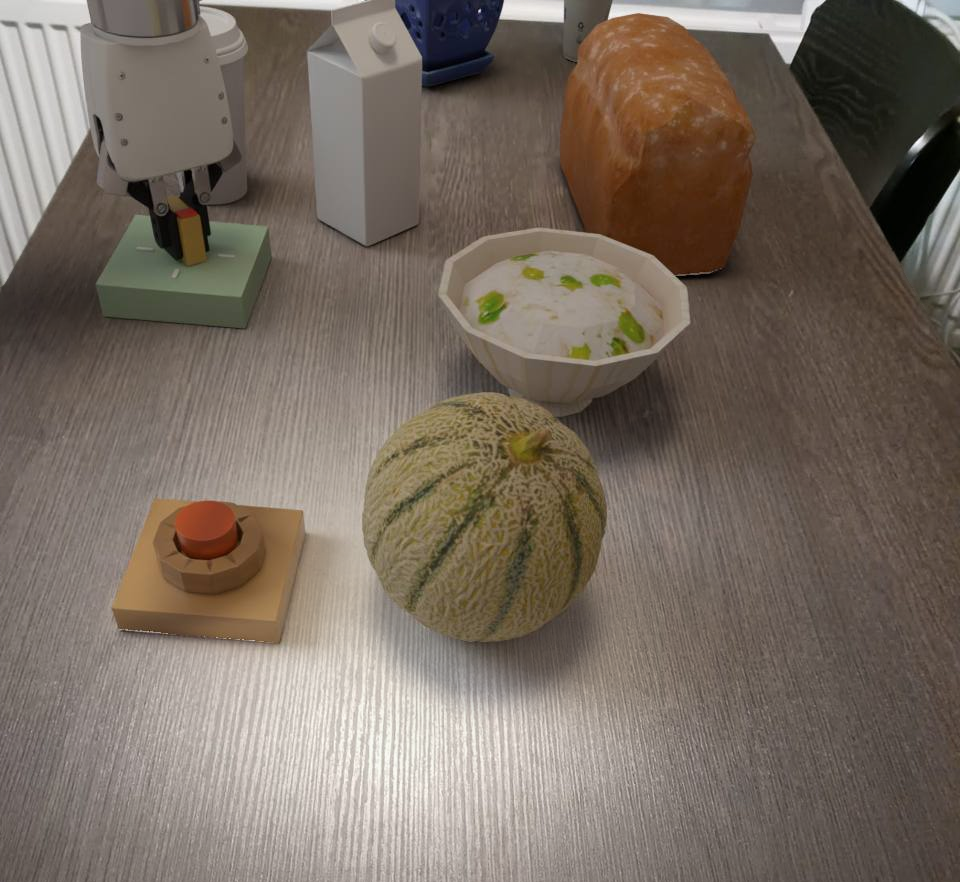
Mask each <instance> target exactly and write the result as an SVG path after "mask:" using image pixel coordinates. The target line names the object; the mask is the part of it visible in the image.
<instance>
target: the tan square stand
mask: <svg viewBox="0 0 960 882" xmlns="http://www.w3.org/2000/svg"><path fill="white" fill-rule="evenodd" d="M195 502H196V501H193V500H181V499H170V498H169V499H168V498H158V497H156V498H154V499H153V501H152V504H151V506H150V509H149V512H148V514H147V517H146V518H145V519H146V520H145V522H144V524H143V527H142V529H141V532H140V534H139V537H138V539H137V542H136V545H135V547H134V551H133V552H132V554H131V557H130V560H129V563H128V565H127V566H126V570H125V573H124V575H123V578H122V580H121V583H120V585H119V587H118V590H117V594H116V596H115V598H114V600H113V603H112V605H111V611H112V615H113V617H114V620H115V623H116V626H117V628H118V630H119V629H124V630H125V629H128V630H134V631H135V630H138V631H140V630H142V631H149V632H150V631H153V632H161V633H168V634H176V635H183V636H182V637H188V636H192V637H191V638H194V637H193V636H196V637H195V638H201V637H204V636H205V637H208V638H207V639H211V638H210V637H213V638H212V639H214V638H216V637H218V638H221V639H220V640H224V639H223V638H226V639H225V640H227V639H229V638H231V639H240V640H242V639H244V640H255V641H264V642H263V643H265V642H274V643H273V644H277V643H279V642H280V643H281V640H282V636H283V631H284V626H285V623H286V618H287V613H288V609H289V606H290V601H291V597H292V593H293V588H294V584H295V580H296V575H297V571H298V566H299V562H300V558H301V555H302V551H303V546H304V541H305V537H306V526H305V525H306V524H305V513H304V510H302V509H291V508H279V507H268V506H267V507H266V506H257V505H256V506H254V505H245V504H244V505H243V504H237V503H235V502H231V501H218V500H217V502H221V503H223V504H225V505H227V506H228V507H229V508H230V509H231V510H232V511H233V513H234V515H235V521H236V527H237V532H238V543H237V545H236V547H235V548H234V550H233V551H232V552H230V553H229V554H228V555H226V556H223V557H219V558H216V559H212V560H197V559H193V558H191V557H189V556H187V555H186V554H185V553H184V552H183V551H182V550H181V548H180V545H179V541H178V536H177V532H176V528H175V519H176V516H177V514H178V513H179V512H180V511H181V510H182V509H183V508H184V507H186V506H188V505H189V504H192V503H195ZM176 635H175V636H176ZM187 635H188V636H187ZM198 636H200V637H198ZM280 639H281V640H280ZM280 643H279V644H280Z"/></svg>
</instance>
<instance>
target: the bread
mask: <svg viewBox="0 0 960 882" xmlns="http://www.w3.org/2000/svg"><path fill="white" fill-rule="evenodd" d="M563 99H564V100H563V108H562V114H561V115H562V116H561V123H560V124H561V125H560V131H559V142H558V143H559V162H560V164H559V165H560V168H561V170H562V172H563V174H564V177H565V180H566V182H567V186H568V187H569V191H570V193H571V195H572V199H573V202H574V203H575V206H576V209H577V211H578V214H579V216H580V219H581V222H582V224H583V228H584V233H593V234H600V235H603V236H605V237H608V238H610V239H613V240H616V241H618V242H621V243H623V244H626V245H628V246H631V247H633V248H636V249H638V250H641V251H643V252H646V253H648V254H651V255H653V256H654V257H655V258H657V259H658V260H659V261H660V262H661V263H662V264H663V265H664V266H665V267H666V268H667V269H668V270H669V271H670V272H671V273H672V274H673V275H678V274H690V273H699V272H710V271H711V272H712V271H715V270H717V269H720V268H724V269H725V267H726V264H727V262H728V259H729V257H730V254H731V252H732V249H733V247H734V244H735V242H736V239H737V237H738V234H739V232H740V227H741V223H742V219H743V215H744V212H745V209H746V208H745V207H746V203H747V199H748V195H749V191H750V187H751V183H752V179H753V176H754V173H753V172H754V171H753V165H752V161H751V157H750V154H751V151H752V149H753V147H754V145H755V142H756V140H757V136H756V135H757V134H756V133H755V129H754V127H753V125H752V123H751V120H750V117H749V115H748V113H747V111H746V108H745V107H744V106H742V105H741V103H740V102H739V100H738V97H737V93H736V91H735V89H734V87H733V85H732V84H731V82H730V81H729V79H728V77H727V76H726V74H725V72H724V70H723V69H722V67H721V66H720V65H719V63H718V62H717V60H716V59H715V58H714V56H713V55H712V54H711V53H710V51H709V50H708V49H707V48H706V46H705V45H704V44H702V43H701V42H700V41H698V40H697V39H695V37H694V36H693V35H692V34H691V33H690V32H689V31H688V29H687V28H686V27H685V26H684V25H682V24H681V23H679V22H677V21H675V20H674V19H672V18H670V17H668V16H663V15H656V14H649V13H642V12H641V13H640V12H636V13H633V14H631V13H630V14H626V15H621V16H615V17H612V18H608V20H607V21H605V22H602V23H600V24H598V25H596V26H595V28H594V29H593V30H592V31H591V32H590V34H589V35H588V36H587V37H586V39H585V40H584V41H583V42H582V43H581V45H580V46H579V47H578V61H577V63H576V65H575V66H574V67H573V69H572V70H571V72H570V73H569V75H568V78H567V83H566V88H565V92H564V98H563Z"/></svg>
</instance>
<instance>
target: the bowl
mask: <svg viewBox="0 0 960 882" xmlns="http://www.w3.org/2000/svg"><path fill="white" fill-rule="evenodd" d="M443 266H444V267H443V271H442V274H441V280H440V283H439V288H438V293H437V296H438V298H439V300H440V302H441V304H442V306H443V308H444V310H445V312H446V314H447V316H448V318H449V320H450V322H451V324H452V326H453V328H454V331H455V332H456V333H457V335H458V336H459V337H460V338H461V340H462V341H463V342H464V343H465V344H466V346H467V348H468V350H469V351H471V353H472V354H473V355H474V357H475V358H476V359H477V361H478V362H479V363H480V364H481V365H482V366H483V367H484V368H485V369H486V370H487V371H488V373H489V374H490V375H491V376H492V377H493V378H494V379H495V380H496V381H497V382H498V383H499V384H500V385H502V386H504V387H506V388H507V393H508V394H509V396H513V397H516V398H520V399H525V400H527V401H529V402H531V403H534V404H536V405H539V406H541V407H543V408H544V409H546V410H548V411H549V412H550V413H551V414H552V415H553V416H554V417H555V418H562V417H567V416H571V415H575V414H578V413H581V412H583V410H585V409H586V408H587V407H588V406H589V405H590V404H591V403H593V399H598V398H600V397H605V396H608V395H609V394H611V393H612V392H614V391H616V390H618V389H619V388H621V387H623V386H625V385H626V384H629V383H630V382H631V381H633V380H636V379H637V378H638V376H640V375H641V374H642V373H643V372H644V371H645V370H646V369H648V368H649V366H651V365H652V364H653V363H654V362H655V361H656V360H657V359H658V358H660V357H661V355H663V354H664V352H665V351H667V349H668V348H669V347H670V346H671V345H672V344H673V343H674V342H675V340H676V339H678V337H679V336H680V335H681V334H682V333H683V332H684V331H685V330H686V329H687V327H688V326H689V325H690V324H691V316H690V315H691V314H690V304H689V291H688V287H687V285H685V284H684V282H682V281H681V280H680V279H679V277H676V276H675V275H673V274H672V273H671V272H670V271H669V270H668V269H667V268H666V267H665V266H664V265H663V264H662V263H661V262H660V261H659V260H658V259H657V258H655V257H654V256H653V255H651V254H648V253H646V252H643V251H641V250H638V249H636V248H633V247H631V246H628V245H626V244H623V243H621V242H618V241H616V240H613V239H610V238H608V237H605V236H603V235H600V234H593V233H586V232H585V231H575V230H565V229H555V228H547V227H540V226H539V227H538V226H537V227H534V228H527V229H526V228H525V229H521V230H520V229H519V230H514V231H510V232H509V231H508V232H502V233H495V234H489V235H485V236H482V237H480V238H478V239H477V240H475V241H473V242H472V243H470V244H469V245H468V246H466V247H464V248H463V249H461V250H460V251H458V252H456V253H455V254H453V255H452V256H449V258H447V259H445V262H444V265H443Z"/></svg>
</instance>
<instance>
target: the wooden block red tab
mask: <svg viewBox="0 0 960 882" xmlns="http://www.w3.org/2000/svg"><path fill="white" fill-rule="evenodd" d="M179 197H180V196H178V195H176V194H175V195H171V196H168V197H167V201H168V203H169V206H170V209H171V210H172V211H173V212H174V213H175V214H176V216H177V224H178V229H179V235H180V241H181V246H182V252H183V257H182V259H181V260H182V261H183V262H184V263H185V264H186V265H187V266H191V265H194V264H198V263H201V262H204V261H207V258H206V252H205V246H204V239H203V233H202V227H201V220H200V215H198V214H197V212H196V211H195V210H194V209H192V208H191V207H190V208H189V207H188V206H187V205H186V204H185V203H184V202H183V201H182V200H181V199H179Z"/></svg>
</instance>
